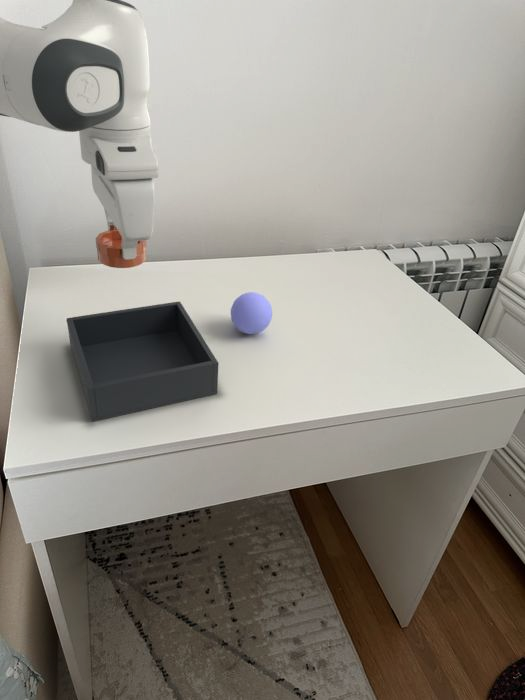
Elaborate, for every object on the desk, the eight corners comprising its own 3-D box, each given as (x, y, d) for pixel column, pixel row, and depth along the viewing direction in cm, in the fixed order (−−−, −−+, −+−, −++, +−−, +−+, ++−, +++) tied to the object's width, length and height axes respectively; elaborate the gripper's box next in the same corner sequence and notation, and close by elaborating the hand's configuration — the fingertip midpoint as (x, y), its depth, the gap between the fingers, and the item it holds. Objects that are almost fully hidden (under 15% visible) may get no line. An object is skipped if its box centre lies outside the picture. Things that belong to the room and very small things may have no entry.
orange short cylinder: (103, 270, 74) (101, 250, 72) (93, 250, 79) (91, 231, 77) (151, 265, 77) (151, 246, 75) (139, 246, 82) (138, 227, 80)
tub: (92, 422, 70) (87, 389, 67) (70, 348, 83) (66, 318, 80) (217, 393, 77) (218, 362, 74) (180, 330, 90) (179, 301, 86)
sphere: (253, 347, 87) (256, 310, 83) (221, 330, 91) (222, 294, 87) (278, 330, 92) (282, 295, 88) (247, 315, 95) (249, 280, 91)
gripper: (76, 125, 75) (85, 219, 83) (108, 170, 60) (116, 279, 68) (121, 125, 77) (125, 216, 85) (163, 168, 63) (164, 274, 71)
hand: (121, 245), depth 77 cm, fingers closed on orange short cylinder, 7 cm apart
